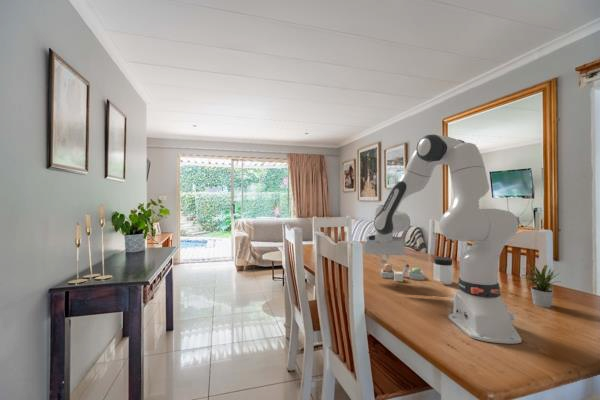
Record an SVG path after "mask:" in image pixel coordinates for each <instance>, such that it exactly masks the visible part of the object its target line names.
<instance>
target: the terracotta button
mask: <svg viewBox="0 0 600 400" xmlns="http://www.w3.org/2000/svg"><path fill="white" fill-rule="evenodd" d="M383 269H384V272H392V270H393V264H392V263H387V264H384V263H383Z"/></svg>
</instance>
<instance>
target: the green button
mask: <svg viewBox="0 0 600 400" xmlns="http://www.w3.org/2000/svg"><path fill="white" fill-rule="evenodd" d="M411 270H412V273H414V274H420V271H421V268H420V267H412V268H411Z"/></svg>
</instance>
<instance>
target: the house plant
mask: <svg viewBox="0 0 600 400" xmlns="http://www.w3.org/2000/svg"><path fill="white" fill-rule="evenodd" d="M525 265H526V266H527V267H529V268H530V269H531V271H530V270H528V269H526V267H525V268H524V267H523V270H525V271H526V272H528V273H529V274H530V275H529V274H526V273H525V275H524V274H521V276H522V277H524V278H525V280H524V281H523V283H525V282H526V285H527V284H530V283H532V284H533V285H534V286H530V291H531V297H532V302H533V304H534V305H535V306H537V307H542V308H551V306H552V303H553V298H554V293H555V290H554V289H551V288H555V286H552V285H553V284H555V283H560V281H554V282H551V281H552V280H553V278H555V277H556V276H558V275H559V274H560V273H561V272H560V273H557V274H555V273H554V272H555V269H552V267H550V268H549V269H548V267H549V265H547V264H545V265H544V266H543V268H542V269H541V272H540V270H539V269H538V268H537V266H536V265H535V266H534V268H533V267H532V266H531V265H529V264H526V263H525ZM519 268H520V269H521V268H522V267H519ZM547 269H548V272H547ZM546 272H547V275H546ZM534 276H535V277H534ZM526 279H527V280H526ZM529 279H530V280H529ZM550 282H551V283H550Z"/></svg>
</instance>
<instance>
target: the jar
mask: <svg viewBox="0 0 600 400" xmlns="http://www.w3.org/2000/svg"><path fill="white" fill-rule="evenodd" d="M433 260H434V262H433V280H434V281H438V282H439V283H442V284H443V285H448V286H449V285H452V284H454V262H453V259H452V258H451V257H447V256H436V257H434V259H433Z"/></svg>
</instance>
